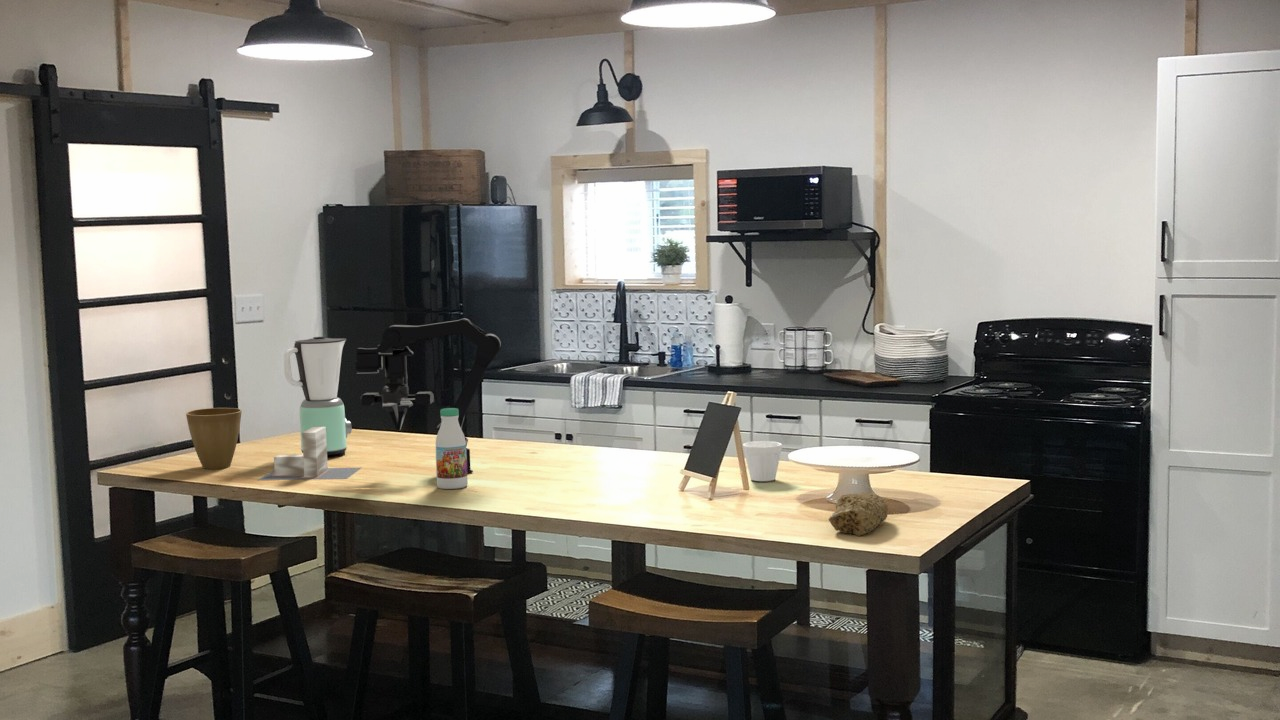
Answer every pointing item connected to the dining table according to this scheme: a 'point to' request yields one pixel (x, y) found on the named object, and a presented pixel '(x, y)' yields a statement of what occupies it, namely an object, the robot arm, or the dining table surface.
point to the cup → (762, 459)
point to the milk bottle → (451, 452)
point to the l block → (306, 456)
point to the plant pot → (214, 435)
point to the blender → (320, 389)
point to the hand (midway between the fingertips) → (398, 430)
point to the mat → (329, 474)
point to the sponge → (858, 513)
